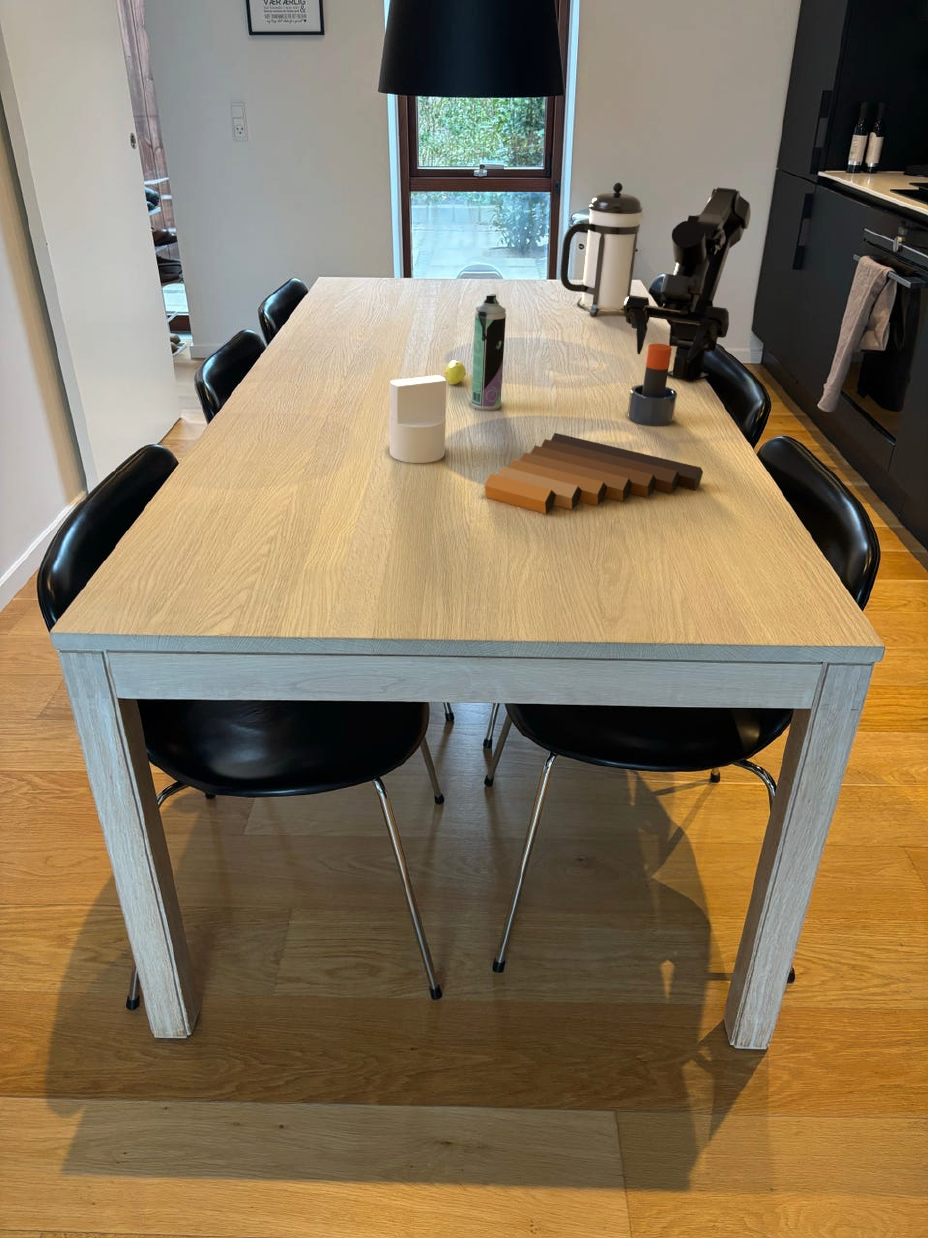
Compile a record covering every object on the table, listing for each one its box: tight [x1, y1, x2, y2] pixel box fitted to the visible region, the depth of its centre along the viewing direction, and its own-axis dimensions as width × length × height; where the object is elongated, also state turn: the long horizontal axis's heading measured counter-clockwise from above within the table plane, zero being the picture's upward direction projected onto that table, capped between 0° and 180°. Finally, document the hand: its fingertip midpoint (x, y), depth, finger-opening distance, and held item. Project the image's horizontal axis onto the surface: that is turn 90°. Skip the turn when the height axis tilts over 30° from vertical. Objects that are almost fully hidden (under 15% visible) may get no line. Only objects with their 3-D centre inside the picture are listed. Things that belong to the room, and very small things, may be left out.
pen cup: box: [627, 384, 678, 427], centre depth 175 cm, size 8×8×5 cm
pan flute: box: [484, 432, 704, 515], centre depth 146 cm, size 25×3×25 cm
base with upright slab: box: [389, 374, 447, 464], centre depth 155 cm, size 9×9×12 cm
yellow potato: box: [444, 360, 467, 385], centre depth 190 cm, size 4×8×4 cm, turn 172°
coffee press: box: [559, 182, 646, 317], centre depth 237 cm, size 17×16×30 cm
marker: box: [642, 343, 673, 398], centre depth 173 cm, size 4×4×12 cm
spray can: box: [470, 293, 507, 411], centre depth 174 cm, size 6×6×20 cm
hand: (662, 356), depth 174 cm, fingers open, 9 cm apart
